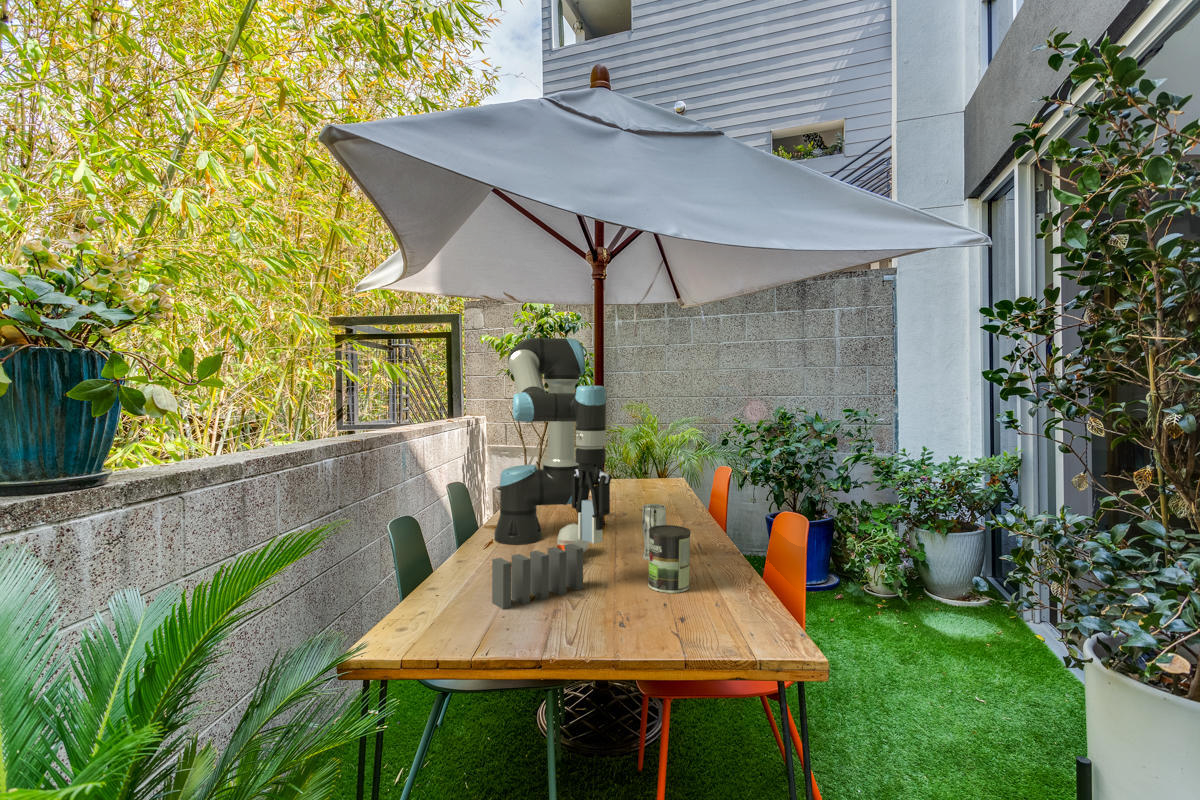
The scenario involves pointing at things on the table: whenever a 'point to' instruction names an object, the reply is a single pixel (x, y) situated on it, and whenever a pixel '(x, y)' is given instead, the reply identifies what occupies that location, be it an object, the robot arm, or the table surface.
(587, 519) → the domino
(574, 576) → the domino
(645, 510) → the silver metal cylinder
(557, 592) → the domino
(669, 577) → the coffee can
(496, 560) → the domino
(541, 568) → the domino
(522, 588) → the domino
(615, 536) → the table surface
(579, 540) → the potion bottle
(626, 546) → the table surface
